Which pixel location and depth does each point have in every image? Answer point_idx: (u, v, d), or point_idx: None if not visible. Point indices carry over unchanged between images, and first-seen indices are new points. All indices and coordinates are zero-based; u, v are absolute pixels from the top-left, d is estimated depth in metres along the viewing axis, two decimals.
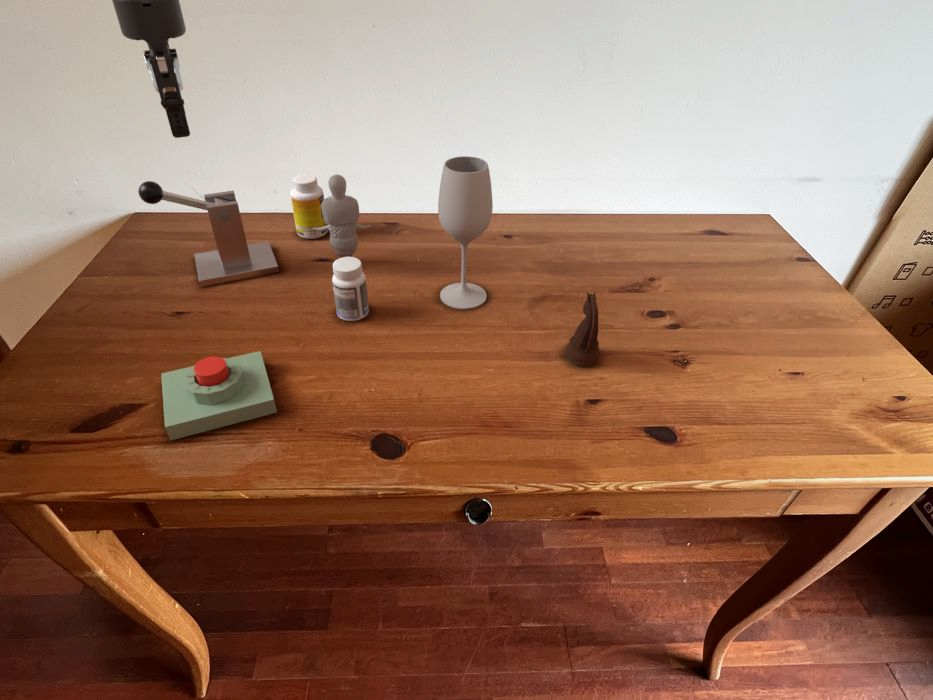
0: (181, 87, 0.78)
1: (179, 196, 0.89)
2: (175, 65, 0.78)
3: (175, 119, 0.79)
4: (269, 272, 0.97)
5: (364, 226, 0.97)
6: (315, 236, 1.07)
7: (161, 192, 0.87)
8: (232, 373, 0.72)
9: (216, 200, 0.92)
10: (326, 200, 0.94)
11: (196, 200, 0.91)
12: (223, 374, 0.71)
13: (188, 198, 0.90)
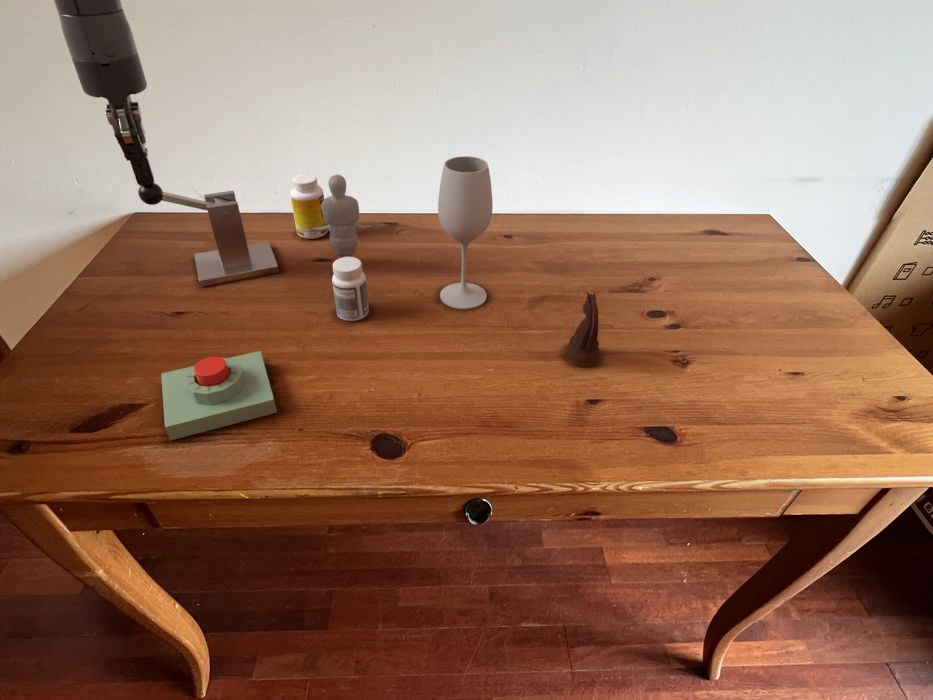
0: None
1: (179, 197, 0.89)
2: (138, 123, 0.80)
3: (139, 169, 0.84)
4: (269, 272, 0.97)
5: (364, 226, 0.97)
6: (315, 236, 1.07)
7: (161, 193, 0.87)
8: (232, 373, 0.72)
9: (216, 200, 0.92)
10: (326, 200, 0.94)
11: (196, 200, 0.91)
12: (223, 374, 0.71)
13: (188, 199, 0.90)
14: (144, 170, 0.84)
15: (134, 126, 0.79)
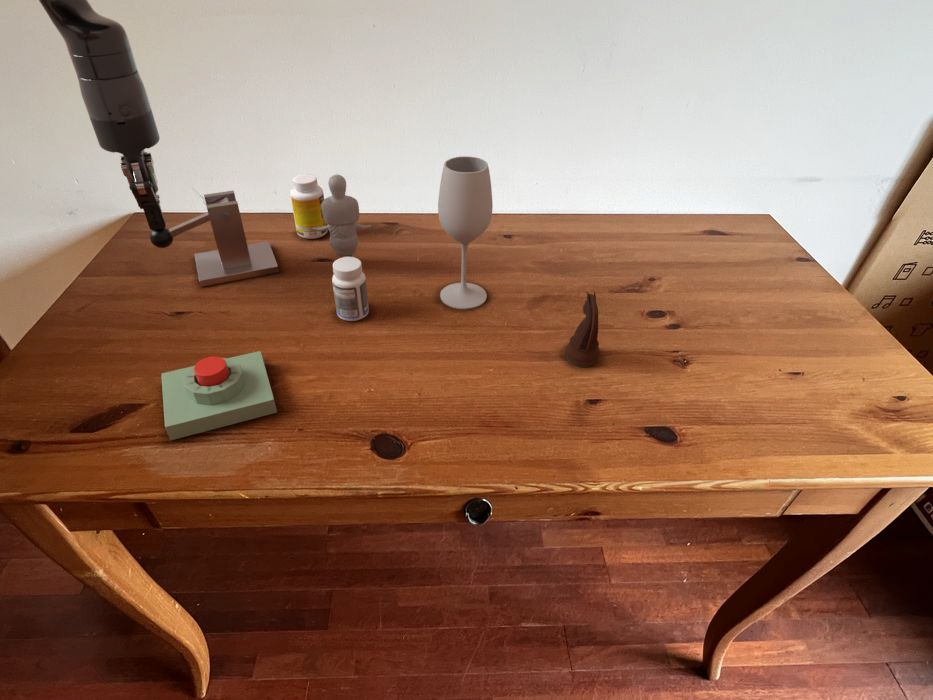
0: None
1: (182, 224, 0.92)
2: (151, 174, 0.85)
3: (152, 216, 0.88)
4: (269, 272, 0.97)
5: (364, 226, 0.97)
6: (315, 236, 1.07)
7: (166, 232, 0.91)
8: (232, 373, 0.72)
9: None
10: (326, 200, 0.94)
11: (197, 218, 0.92)
12: (223, 374, 0.71)
13: (190, 221, 0.92)
14: (156, 216, 0.89)
15: (147, 177, 0.84)
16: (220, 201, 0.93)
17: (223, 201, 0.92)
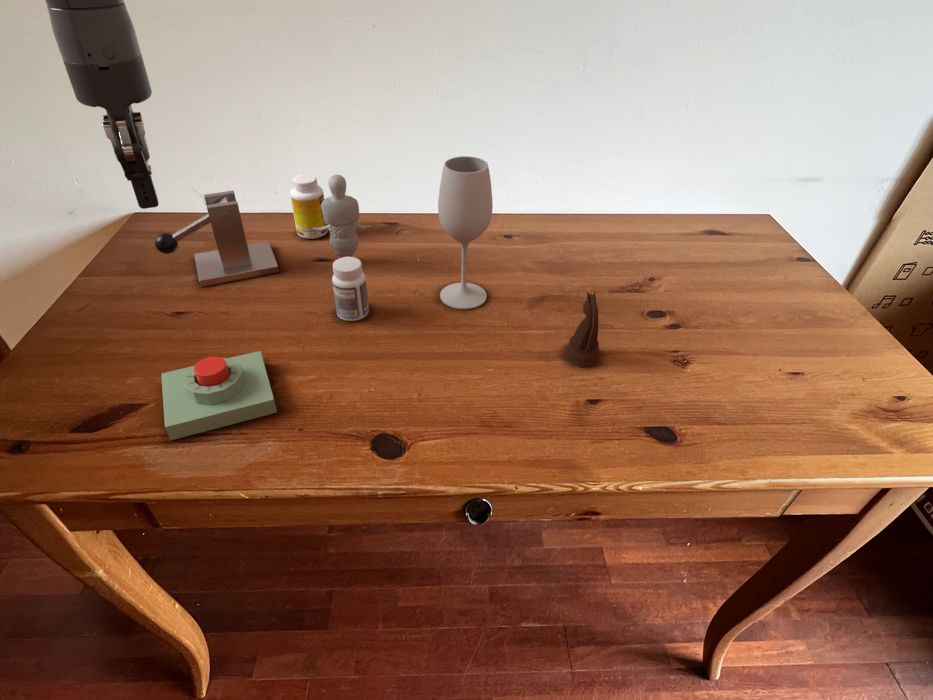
0: None
1: (185, 228, 0.92)
2: (141, 137, 0.68)
3: (141, 190, 0.72)
4: (269, 272, 0.97)
5: (364, 226, 0.97)
6: (315, 236, 1.07)
7: (170, 237, 0.92)
8: (232, 373, 0.72)
9: None
10: (326, 200, 0.94)
11: (198, 220, 0.93)
12: (223, 374, 0.71)
13: (192, 224, 0.92)
14: (147, 191, 0.72)
15: (137, 140, 0.68)
16: (219, 201, 0.93)
17: (222, 201, 0.92)
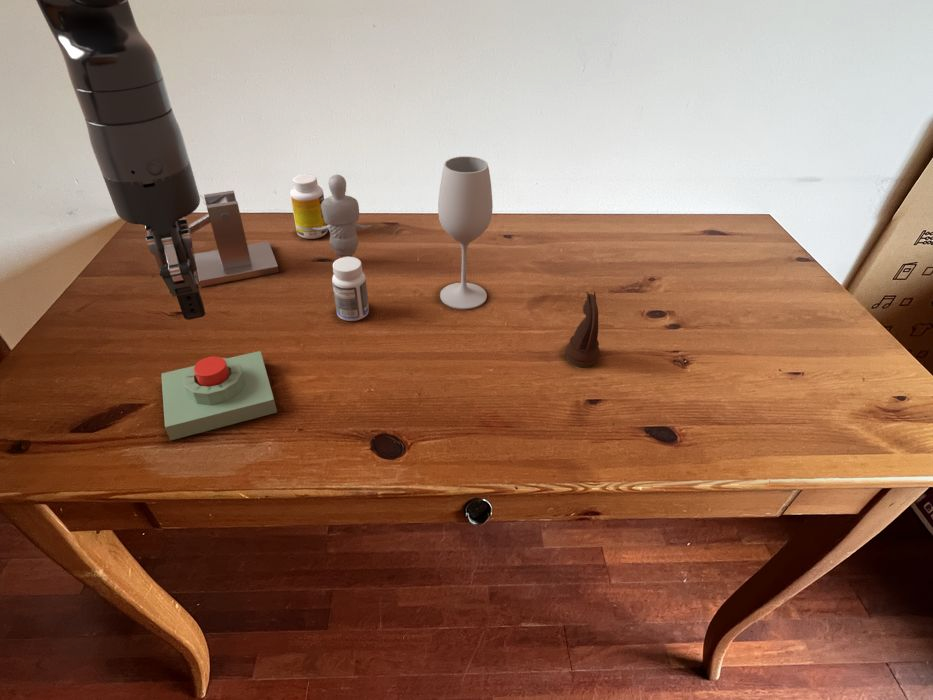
0: None
1: None
2: (188, 249, 0.60)
3: (187, 302, 0.64)
4: (269, 272, 0.97)
5: (364, 226, 0.97)
6: (315, 236, 1.07)
7: None
8: (232, 373, 0.72)
9: None
10: (326, 200, 0.94)
11: (198, 220, 0.93)
12: (223, 374, 0.71)
13: (192, 224, 0.92)
14: (193, 303, 0.64)
15: (183, 255, 0.60)
16: (219, 201, 0.93)
17: (222, 201, 0.92)
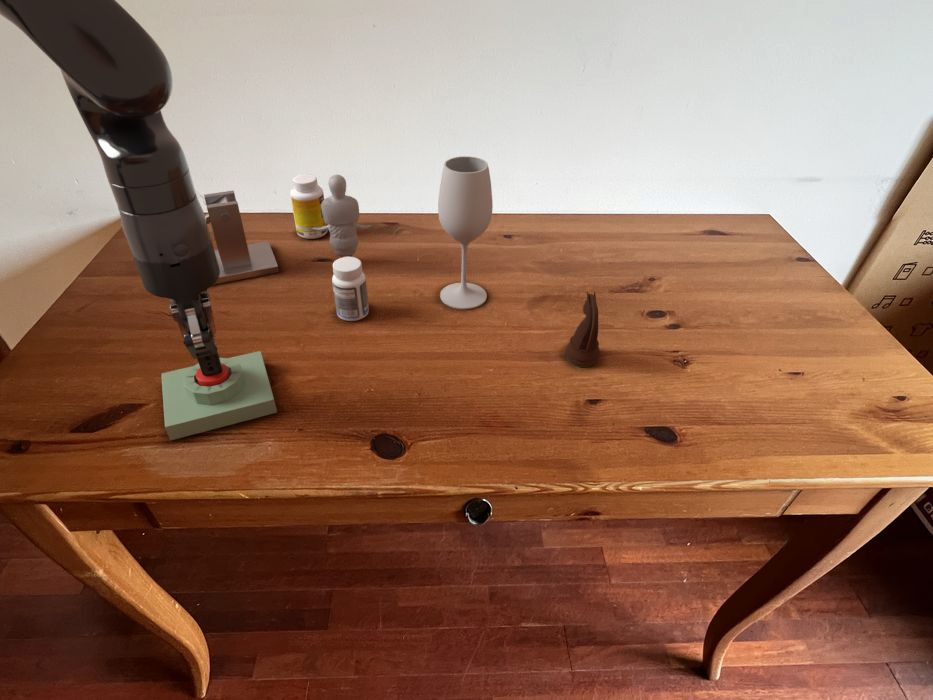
0: None
1: None
2: (208, 316, 0.66)
3: (206, 362, 0.69)
4: (269, 272, 0.97)
5: (364, 226, 0.97)
6: (315, 236, 1.07)
7: None
8: (232, 373, 0.72)
9: None
10: (326, 200, 0.94)
11: None
12: (225, 380, 0.72)
13: None
14: (212, 362, 0.70)
15: (204, 322, 0.65)
16: (219, 201, 0.93)
17: (222, 201, 0.92)
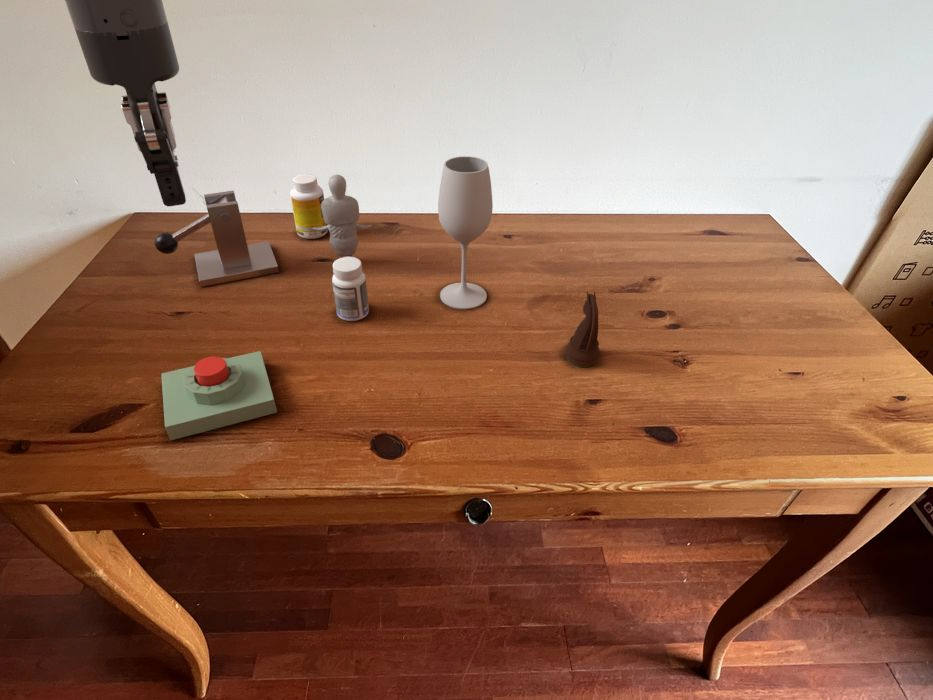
0: None
1: (185, 228, 0.92)
2: (166, 122, 0.58)
3: (166, 185, 0.61)
4: (269, 272, 0.97)
5: (364, 226, 0.97)
6: (315, 236, 1.07)
7: (170, 237, 0.92)
8: (232, 373, 0.72)
9: None
10: (326, 200, 0.94)
11: (198, 220, 0.93)
12: (223, 374, 0.71)
13: (192, 224, 0.92)
14: (173, 186, 0.62)
15: (161, 126, 0.57)
16: (219, 201, 0.93)
17: (222, 201, 0.92)
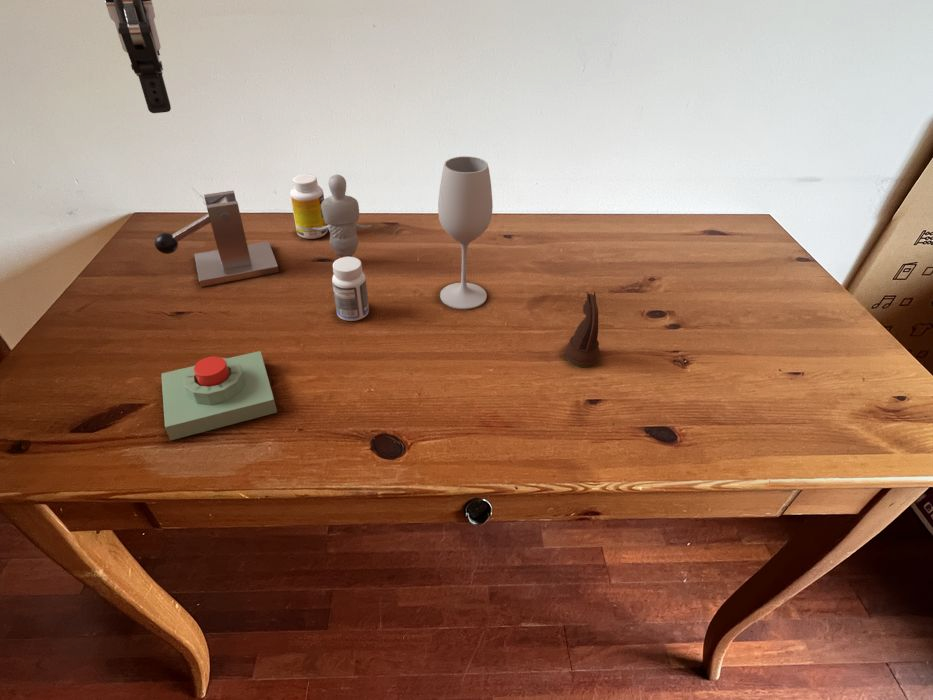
0: None
1: (185, 228, 0.92)
2: (150, 20, 0.58)
3: (151, 89, 0.62)
4: (269, 272, 0.97)
5: (364, 226, 0.97)
6: (315, 236, 1.07)
7: (170, 237, 0.92)
8: (232, 373, 0.72)
9: None
10: (326, 200, 0.94)
11: (198, 220, 0.93)
12: (223, 374, 0.71)
13: (192, 224, 0.92)
14: (158, 90, 0.62)
15: None
16: (219, 201, 0.93)
17: (222, 201, 0.92)
